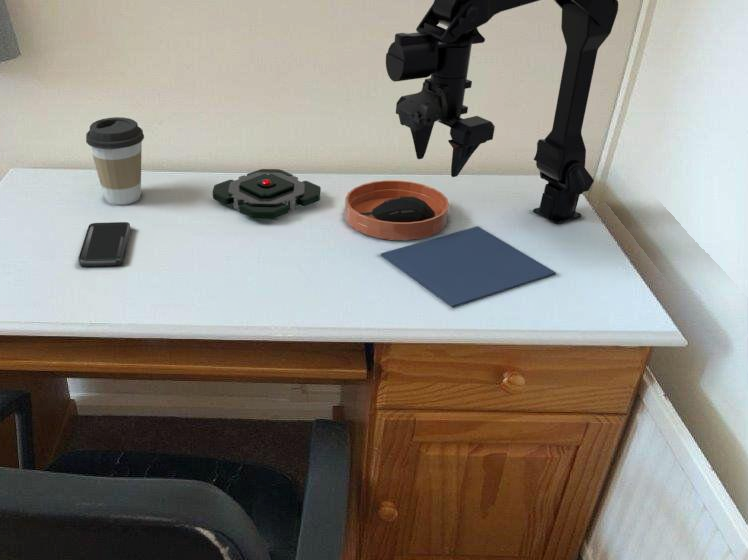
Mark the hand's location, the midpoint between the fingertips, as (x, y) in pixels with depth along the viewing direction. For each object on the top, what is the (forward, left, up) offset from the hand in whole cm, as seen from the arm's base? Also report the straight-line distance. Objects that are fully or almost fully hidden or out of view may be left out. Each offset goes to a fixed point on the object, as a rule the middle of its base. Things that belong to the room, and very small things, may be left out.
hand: (436, 167), depth 133 cm
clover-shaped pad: (+18, -29, -14) cm, 37 cm away
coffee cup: (+43, -45, -14) cm, 64 cm away
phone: (+53, -26, -14) cm, 61 cm away
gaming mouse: (0, -10, -14) cm, 17 cm away
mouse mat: (0, +11, -14) cm, 17 cm away
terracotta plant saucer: (0, -10, -14) cm, 17 cm away
